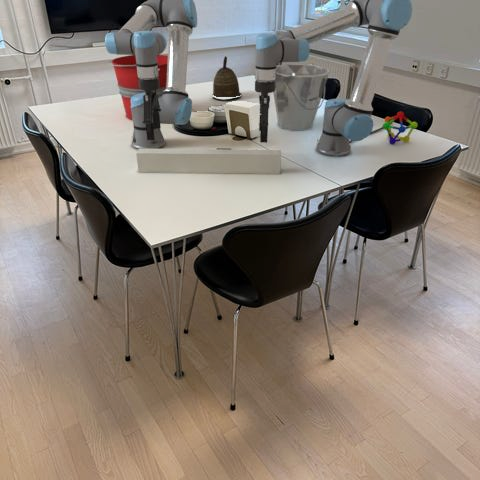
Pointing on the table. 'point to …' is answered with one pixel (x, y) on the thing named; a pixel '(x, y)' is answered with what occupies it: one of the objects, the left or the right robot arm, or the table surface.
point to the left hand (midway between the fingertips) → (154, 133)
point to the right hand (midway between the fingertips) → (263, 136)
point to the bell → (225, 82)
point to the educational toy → (398, 128)
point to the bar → (209, 161)
